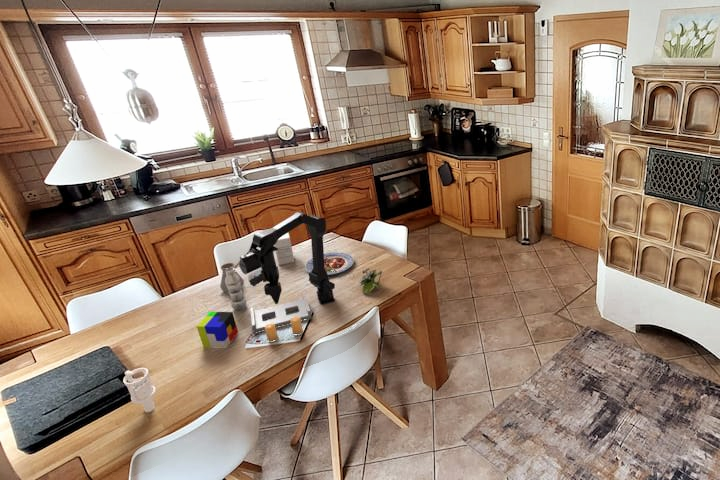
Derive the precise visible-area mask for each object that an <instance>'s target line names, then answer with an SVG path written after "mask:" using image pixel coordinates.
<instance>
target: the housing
mask: <svg viewBox="0 0 720 480" xmlns="http://www.w3.org/2000/svg"><path fill="white" fill-rule="evenodd" d="M301 298H302V299H299V300H294V301H290V302H286V303H282V304H278V305H277V304H276V305H273V306H271V307H266V308H263V309H262V308H261V309H257V310H255V309H254V307H250V318H251V328H252V330H253V331H252V332H253V334H254V333H255V334H257V333H256V332H259V331H262V330H265V326H266V325H268V324H275V327H278V326H282V325H286V326H288V325H287V324H290V323H291V322H290V320H291V319H292V318H294V317H299V318H300V319H301V320H304V319H309V320H312V319H313V317H312V312H311V309H310V306H309V303H308V300H307V297H306V295H305V294H303V295H302V297H301ZM293 311H297V312H295V313H290V314H287V313H289V312H293ZM273 316H275V317H274V318H271V319H267V320H264V319H266V318H270V317H273ZM290 325H291V324H290ZM282 327H283V326H282ZM278 328H279V327H278ZM259 333H260V332H259Z"/></svg>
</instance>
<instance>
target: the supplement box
mask: <svg viewBox="0 0 720 480" xmlns="http://www.w3.org/2000/svg"><path fill="white" fill-rule="evenodd" d="M274 247H276V248H278V250H276V251H275V254H276V259H277V262H278V263H277V264H278V266H282V265H288V264H291V263H292V264H293V263H295V256H294V251H293V246H292V242H291V237H290V234H289V232H288V233H286V234H285V235H283V236H282V237H280V238H279V239H278V241H277V242H276V244H275V245H274Z"/></svg>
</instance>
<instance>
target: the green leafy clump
mask: <svg viewBox="0 0 720 480" xmlns="http://www.w3.org/2000/svg"><path fill="white" fill-rule="evenodd" d="M369 270H370V268H365V269H364V270H362V274H365V275H363V276H361V277H360V280H359V282H358V284H360V286H362V293H364V294H367V293H371V292H372V291H373V289H375V287H376V288H378V289H382V286H381V285H380V284H381V283H380V281H381V278H382V277H381V276H382V273H383V271H382V270H378V271H377V270H376V269H372V270H370V271H369ZM368 271H369V272H368ZM377 276H379V278H378V281H375V280H376V277H377Z"/></svg>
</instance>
